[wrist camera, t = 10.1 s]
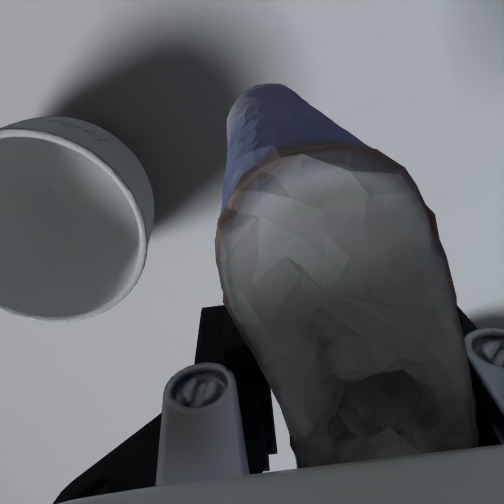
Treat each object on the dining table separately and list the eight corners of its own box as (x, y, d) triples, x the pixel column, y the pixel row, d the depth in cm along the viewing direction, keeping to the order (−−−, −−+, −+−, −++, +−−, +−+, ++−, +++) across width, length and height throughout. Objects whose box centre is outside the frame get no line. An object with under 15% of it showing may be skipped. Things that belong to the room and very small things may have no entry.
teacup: (131, 87, 26) (92, 99, 19) (188, 243, 31) (174, 301, 23) (-74, 148, 27) (-187, 182, 20) (9, 290, 32) (-58, 360, 24)
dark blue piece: (215, 94, 12) (141, 275, 2) (319, 68, 12) (745, 142, 2) (279, 353, 16) (355, 837, 6) (358, 337, 16) (567, 807, 6)
